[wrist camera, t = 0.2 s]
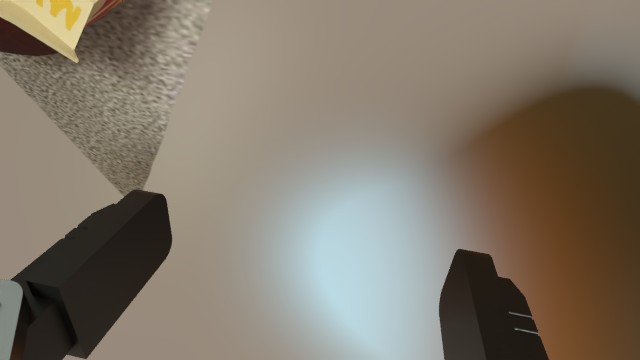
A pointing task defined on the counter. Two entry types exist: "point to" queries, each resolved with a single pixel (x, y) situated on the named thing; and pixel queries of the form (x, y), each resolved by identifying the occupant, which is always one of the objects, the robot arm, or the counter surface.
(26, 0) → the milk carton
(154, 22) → the counter surface
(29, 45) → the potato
